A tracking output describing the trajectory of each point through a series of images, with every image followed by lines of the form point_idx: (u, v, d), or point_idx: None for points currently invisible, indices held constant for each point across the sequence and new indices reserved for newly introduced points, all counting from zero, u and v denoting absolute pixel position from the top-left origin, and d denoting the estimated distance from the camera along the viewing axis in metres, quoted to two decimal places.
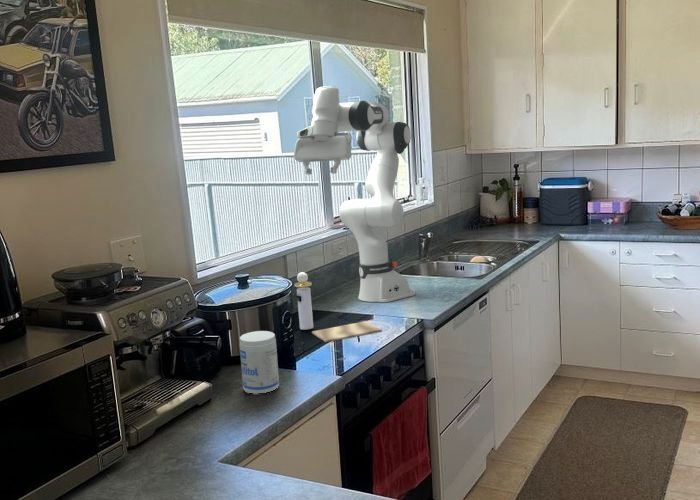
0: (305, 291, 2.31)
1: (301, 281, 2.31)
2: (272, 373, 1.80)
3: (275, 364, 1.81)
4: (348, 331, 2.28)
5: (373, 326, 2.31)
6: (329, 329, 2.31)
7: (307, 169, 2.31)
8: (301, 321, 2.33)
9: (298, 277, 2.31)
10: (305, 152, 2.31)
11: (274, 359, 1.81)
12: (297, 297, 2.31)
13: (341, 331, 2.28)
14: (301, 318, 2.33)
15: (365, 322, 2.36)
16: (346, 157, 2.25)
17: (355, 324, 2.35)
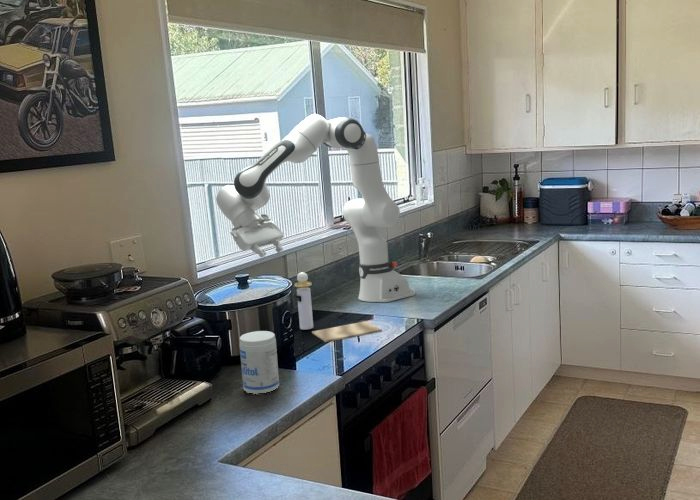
0: (305, 291, 2.31)
1: (301, 281, 2.31)
2: (272, 373, 1.80)
3: (275, 364, 1.81)
4: (348, 331, 2.28)
5: (373, 326, 2.31)
6: (329, 329, 2.31)
7: None
8: (301, 321, 2.33)
9: (298, 277, 2.31)
10: None
11: (274, 359, 1.81)
12: (297, 297, 2.31)
13: (341, 331, 2.28)
14: (301, 318, 2.33)
15: (365, 322, 2.36)
16: (244, 249, 2.31)
17: (355, 324, 2.35)
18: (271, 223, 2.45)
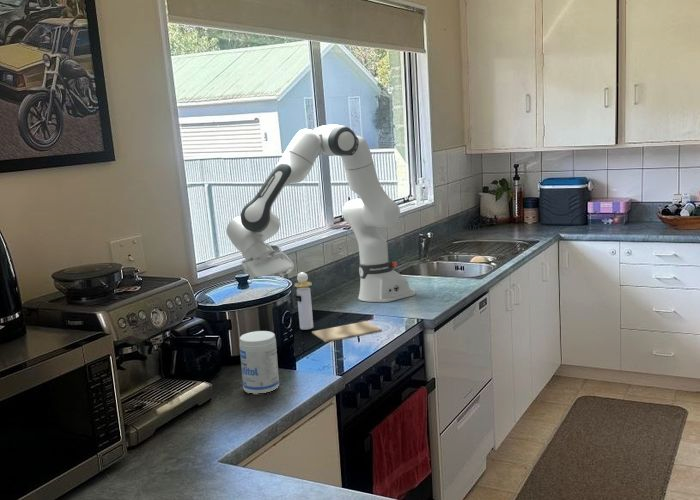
0: (305, 291, 2.31)
1: (301, 281, 2.31)
2: (272, 373, 1.80)
3: (275, 364, 1.81)
4: (348, 331, 2.28)
5: (373, 326, 2.31)
6: (329, 329, 2.31)
7: None
8: (301, 321, 2.33)
9: (298, 277, 2.31)
10: None
11: (274, 359, 1.81)
12: (297, 297, 2.31)
13: (341, 331, 2.28)
14: (301, 318, 2.33)
15: (365, 322, 2.36)
16: None
17: (355, 324, 2.35)
18: (281, 254, 2.45)
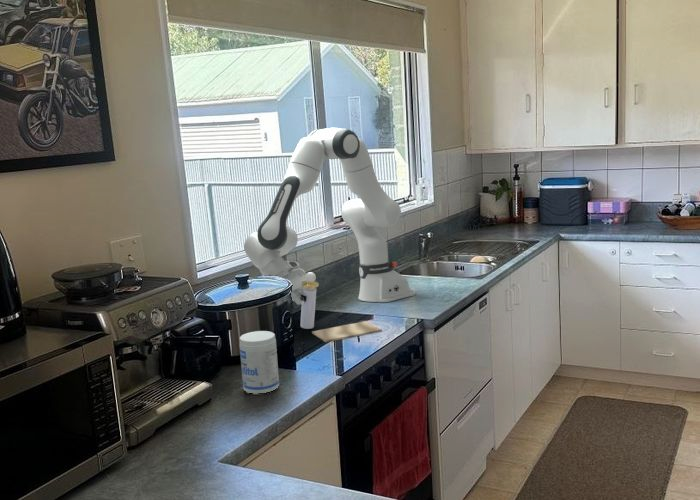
0: (311, 292, 2.29)
1: (309, 281, 2.29)
2: (272, 373, 1.80)
3: (275, 364, 1.81)
4: (348, 331, 2.28)
5: (373, 326, 2.31)
6: (329, 329, 2.31)
7: None
8: (303, 320, 2.32)
9: (306, 277, 2.29)
10: None
11: (274, 359, 1.81)
12: (302, 296, 2.30)
13: (341, 331, 2.28)
14: (303, 317, 2.32)
15: (365, 322, 2.36)
16: None
17: (355, 324, 2.35)
18: (300, 270, 2.42)
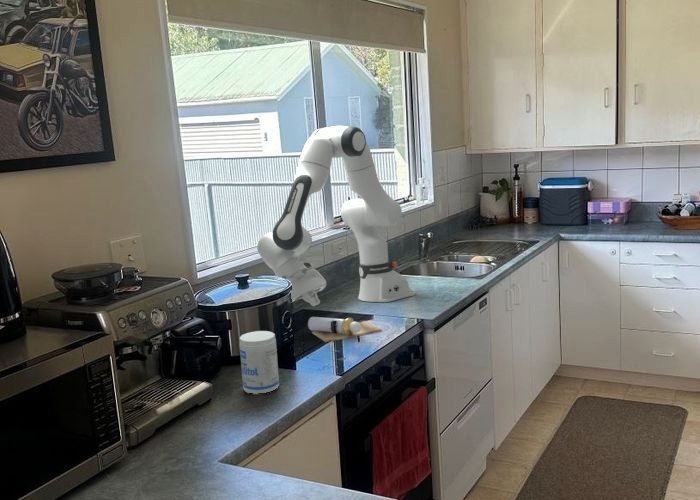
0: (344, 332, 2.24)
1: (351, 330, 2.21)
2: (272, 373, 1.80)
3: (275, 364, 1.81)
4: None
5: (373, 326, 2.31)
6: None
7: None
8: (315, 328, 2.28)
9: (353, 329, 2.20)
10: None
11: (274, 359, 1.81)
12: (334, 330, 2.23)
13: None
14: (317, 328, 2.28)
15: (365, 322, 2.36)
16: None
17: None
18: (314, 271, 2.38)
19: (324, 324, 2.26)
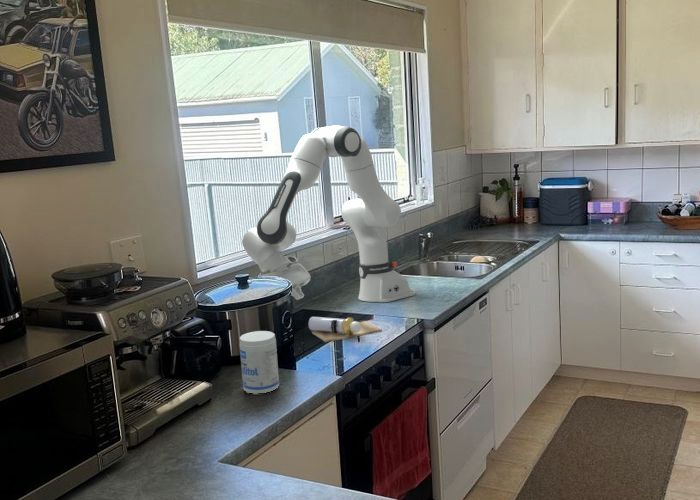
0: (344, 332, 2.24)
1: (351, 330, 2.22)
2: (272, 373, 1.80)
3: (275, 364, 1.81)
4: None
5: (373, 326, 2.31)
6: None
7: None
8: (315, 327, 2.28)
9: (353, 329, 2.20)
10: None
11: (274, 359, 1.81)
12: (334, 329, 2.23)
13: None
14: (318, 328, 2.28)
15: (365, 322, 2.36)
16: None
17: None
18: (298, 265, 2.42)
19: (324, 323, 2.26)
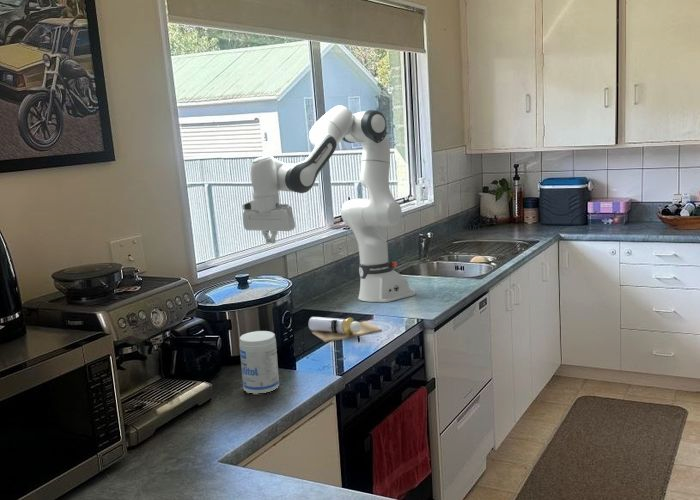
0: (344, 332, 2.24)
1: (351, 330, 2.22)
2: (272, 373, 1.80)
3: (275, 364, 1.81)
4: None
5: (373, 326, 2.31)
6: None
7: (267, 239, 2.40)
8: (315, 327, 2.28)
9: (353, 329, 2.20)
10: (253, 223, 2.41)
11: (274, 359, 1.81)
12: (334, 329, 2.23)
13: None
14: (318, 328, 2.28)
15: (365, 322, 2.36)
16: (290, 230, 2.35)
17: None
18: None
19: (324, 323, 2.26)
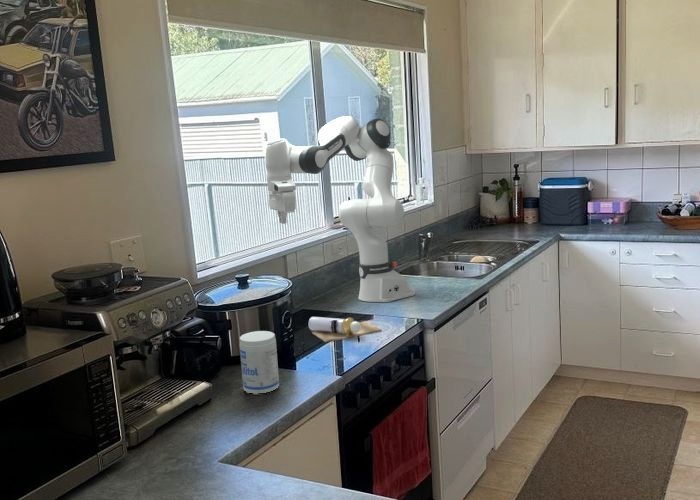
0: (344, 332, 2.24)
1: (351, 330, 2.22)
2: (272, 373, 1.80)
3: (275, 364, 1.81)
4: None
5: (373, 326, 2.31)
6: None
7: None
8: (315, 327, 2.28)
9: (353, 329, 2.20)
10: None
11: (274, 359, 1.81)
12: (334, 329, 2.23)
13: None
14: (318, 328, 2.28)
15: (365, 322, 2.36)
16: None
17: None
18: (281, 195, 2.40)
19: (324, 323, 2.26)
